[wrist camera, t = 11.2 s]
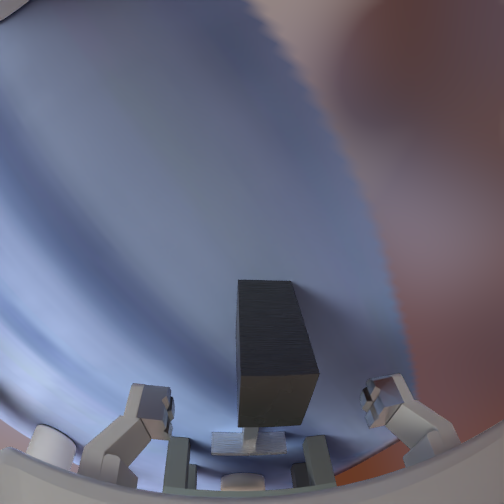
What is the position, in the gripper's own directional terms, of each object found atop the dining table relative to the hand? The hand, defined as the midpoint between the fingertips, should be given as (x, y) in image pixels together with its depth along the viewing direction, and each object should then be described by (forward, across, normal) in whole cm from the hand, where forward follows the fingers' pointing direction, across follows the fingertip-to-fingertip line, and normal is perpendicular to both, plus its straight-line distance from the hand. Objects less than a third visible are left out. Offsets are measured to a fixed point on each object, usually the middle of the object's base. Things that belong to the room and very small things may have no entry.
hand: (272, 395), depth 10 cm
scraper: (+7, 0, +8) cm, 11 cm away
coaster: (+6, 0, +32) cm, 33 cm away
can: (+6, +26, +26) cm, 37 cm away
